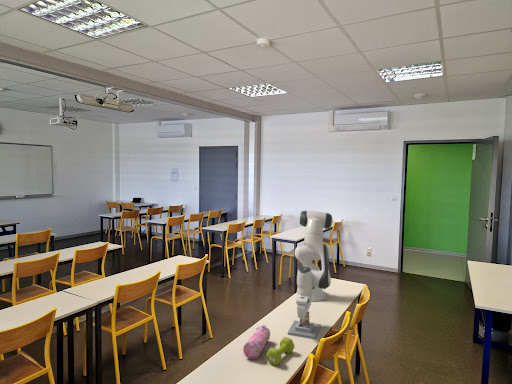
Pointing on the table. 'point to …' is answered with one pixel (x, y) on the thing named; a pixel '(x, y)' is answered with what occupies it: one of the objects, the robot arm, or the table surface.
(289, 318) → the table surface
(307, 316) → the stack block
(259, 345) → the pencil case
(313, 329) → the socket board
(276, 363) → the dumbbell
